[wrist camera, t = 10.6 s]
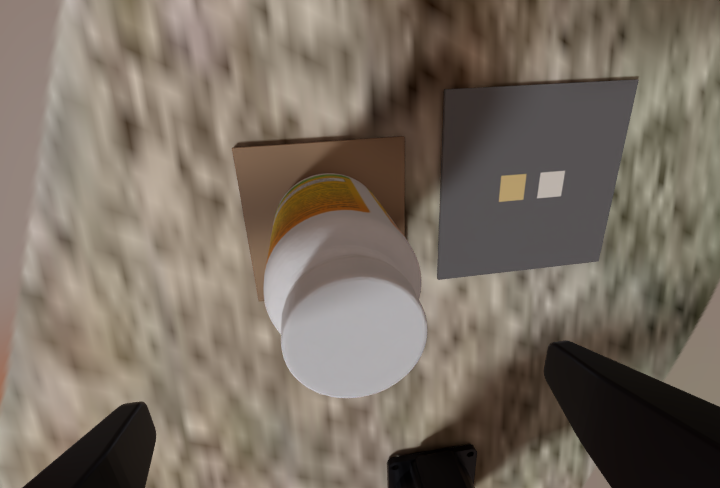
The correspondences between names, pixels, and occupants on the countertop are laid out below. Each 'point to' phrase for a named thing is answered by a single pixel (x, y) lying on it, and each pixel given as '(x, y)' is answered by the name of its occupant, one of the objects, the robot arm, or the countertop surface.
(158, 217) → the countertop surface
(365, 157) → the walnut coaster
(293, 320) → the supplement bottle
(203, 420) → the countertop surface
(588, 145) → the mat
